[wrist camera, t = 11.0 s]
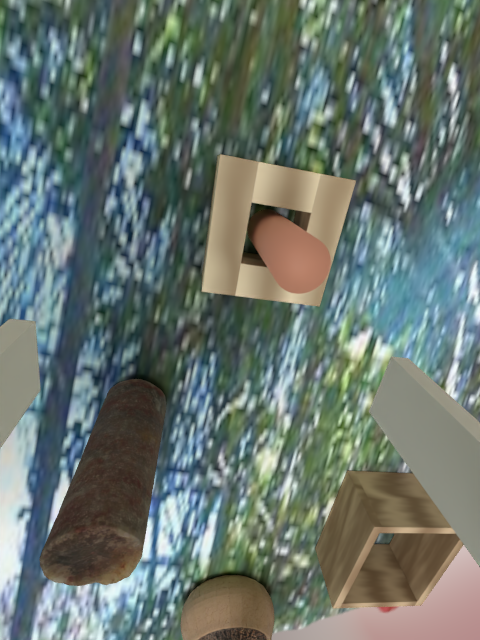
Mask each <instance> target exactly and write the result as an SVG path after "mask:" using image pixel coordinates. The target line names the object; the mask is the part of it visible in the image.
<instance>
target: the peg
mask: <svg viewBox="0 0 480 640" xmlns="http://www.w3.org/2000/svg"><path fill="white" fill-rule="evenodd" d="M247 233H248V236H249V239H250V240H251V242H252V244H253V245H254V247H255V248H256V250H257V252H258V253H259V255H260V256H261V258H262V259H263V261H264V263H265V264H266V266H267V267H268V269H269V271H270V272H271V274H272V275H273V277H274V279H275V280H276V282H277V283H278V284H279V286H280V287H281V288H283V289H284V290H286V291H288V292H291V293H295V294H302V293H307V292H310V291H312V290H314V289H316V288H317V287H318V286H320V285H321V284H322V283H323V281H324V280H325V279H326V277H327V275H328V273H329V270H330V266H331V258H330V254H329V251H328V249H327V247H326V246H325V245H324V244H323V243H322V242H321V241H320V240H318V239H317V238H315V237H314V236H312V235H311V234H309V233H308V232H306V231H305V230H303V229H302V228H300V227H299V226H297V225H296V224H294V223H293V222H291V221H289V220H288V219H286V218H285V217H283V216H282V215H280V214H279V213H277V212H276V211H273V210H270V209H264V210H260V211H258V212H256V213H255V214H254V215H253V216H252V217H251V219H250V220H249V223H248V226H247Z"/></svg>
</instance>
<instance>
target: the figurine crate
mask: <svg viewBox="0 0 480 640" xmlns="http://www.w3.org/2000/svg"><path fill="white" fill-rule="evenodd" d="M379 533H395V535H394V537H393V538H392V540H391V542H390V544H374V542H375V540H376V538H377V537H378V535H379ZM463 545H464V544H463V543H462V541H461V540H460V539H459V537H458V536H457V534H456V533H455V532H454V530H453V529H452V527H451V526H450V524H449V523H448V522H447V520H446V519H445V517H444V516H443V515H442V513H441V512H440V510H439V509H438V508H437V506H436V505H435V503H434V502H433V501H432V499H431V498H430V496H429V495H428V494H427V492H426V491H425V489H424V488H423V487H422V485H421V484H420V482H419V481H418V480H417V478H416V477H415V475H414V474H413V473H391V472H367V471H347V473H346V475H345V478H344V480H343V483H342V485H341V487H340V490H339V492H338V495H337V497H336V499H335V502H334V504H333V507H332V509H331V512H330V514H329V516H328V519H327V521H326V524H325V526H324V528H323V531H322V533H321V536H320V538H319V540H318V543H317V545H316V548H315V549H316V553H317V556H318V559H319V563H320V566H321V570H322V573H323V576H324V580H325V583H326V587H327V590H328V593H329V597H330V600H331V604H332V607H333V608H357V607H390V606H419V605H420V606H421V605H422V604H423V602H424V601H425V599H426V598H427V596H428V595H429V593H430V592H431V591H432V589H433V588H434V586H435V585H436V583H437V582H438V581H439V579H440V578H441V576H442V575H443V573H444V572H445V571H446V569H447V568H448V566H449V565H450V563H451V562H452V560H453V559H454V557H455V556H456V555H457V553H458V552H459V551H460V549H461V548H462V546H463Z"/></svg>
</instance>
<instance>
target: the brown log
mask: <svg viewBox="0 0 480 640" xmlns="http://www.w3.org/2000/svg"><path fill="white" fill-rule="evenodd" d="M165 412H166V398H165V395H164V394H163V392H162V390H161V389H159V388H158V387H156V386H155V385H153V384H151V383H150V382H147V381H145V380H142V379H133V380H132V379H130V380H126V381H121V382H119V383H117V384H116V385H115V386H113V387H112V388H111V389H110V390H109V392H108V394H107V397H106V399H105V401H104V403H103V406H102V408H101V410H100V413H99V415H98V417H97V420H96V423H95V425H94V428H93V430H92V433H91V435H90V437H89V440H88V442H87V445H86V447H85V450H84V453H83V455H82V458H81V460H80V462H79V465H78V467H77V470H76V472H75V475H74V477H73V479H72V481H71V484H70V486H69V489H68V491H67V494H66V496H65V498H64V501H63V503H62V506H61V508H60V511H59V514H58V516H57V518H56V520H55V522H54V524H53V527H52V529H51V532H50V534H49V537H48V539H47V541H46V544H45V546H44V548H43V550H42V553H41V556H40V566H41V568H42V570H43V573H44V575H45V576H46V577H47V578H48V579H50V580H52V581H54V582H58V583H64V584H67V585H74V586H82V585H86V584H92V583H95V582H97V583H101V584H104V585H108V584H113V583H117V582H118V581H121V580H122V579H124V578H127V577H129V576H130V575H131V573H132V572H133V570H134V569H135V568H136V566H137V564H138V562H139V561H140V559H141V557H142V552H143V545H144V539H145V534H146V528H147V521H148V515H149V509H150V504H151V496H152V489H153V485H154V478H155V471H156V466H157V459H158V453H159V448H160V442H161V436H162V430H163V424H164V418H165Z"/></svg>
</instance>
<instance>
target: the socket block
mask: <svg viewBox="0 0 480 640" xmlns="http://www.w3.org/2000/svg"><path fill="white" fill-rule="evenodd" d="M355 182H356V181H355V180H350V179H344V178H339V177H334V176H329V175H324V174H319V173H314V172H308V171H303V170H298V169H293V168H288V167H283V166H278V165H273V164H267V163H262V162H257V161H252V160H247V159H242V158H237V157H231V156H226V155H221V154H220V155H218V156H217V164H216V172H215V179H214V187H213V195H212V202H211V210H210V218H209V225H208V233H207V241H206V249H205V256H204V264H203V272H202V292H209V293H217V294H225V295H233V296H241V297H249V298H257V299H265V300H273V301H281V302H288V303H296V304H304V305H312V306H320V303H321V300H322V296H323V293H324V289H325V286H326V282H327V279H328V275H329V273H328V275H327V277H326V279H325V280H324V281H323V283H322V284H321V285H320V286H318V287H317V288H316V289H314V290H312V291H310V292H307V293H302V294H295V293H291V292H288V291H286V290H284V289H283V288H281V287H280V286H279V284H278V283H277V282H276V280H275V279H274V277H273V275H272V274H271V272H270V271H269V269H268V267H267V266H266V264H265V263H264V261H263V259H262V258H261V256H260V255H259V254H253V253H246V252H243V248H244V243H245V237H246V231H247V226H248V220H249V214H250V209H251V203H257V204H263V205H269V206H275V207H280V208H286V209H292V210H296V213H295V218H294V222H293V223H294V224H296V225H297V226H299V227H300V228H302V229H303V230H305V231H306V232H308V233H309V234H311V235H312V236H314V237H315V238H317V239H318V240H320V241H321V242H322V243H323V244H324V245H325V246H326V247H327V249H328V251H329V254H330V258H331V265H332V262H333V258H334V255H335V251H336V248H337V244H338V241H339V237H340V234H341V230H342V227H343V224H344V220H345V217H346V213H347V210H348V206H349V203H350V199H351V196H352V192H353V189H354V186H355ZM330 268H331V266H330ZM329 272H330V270H329Z"/></svg>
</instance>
